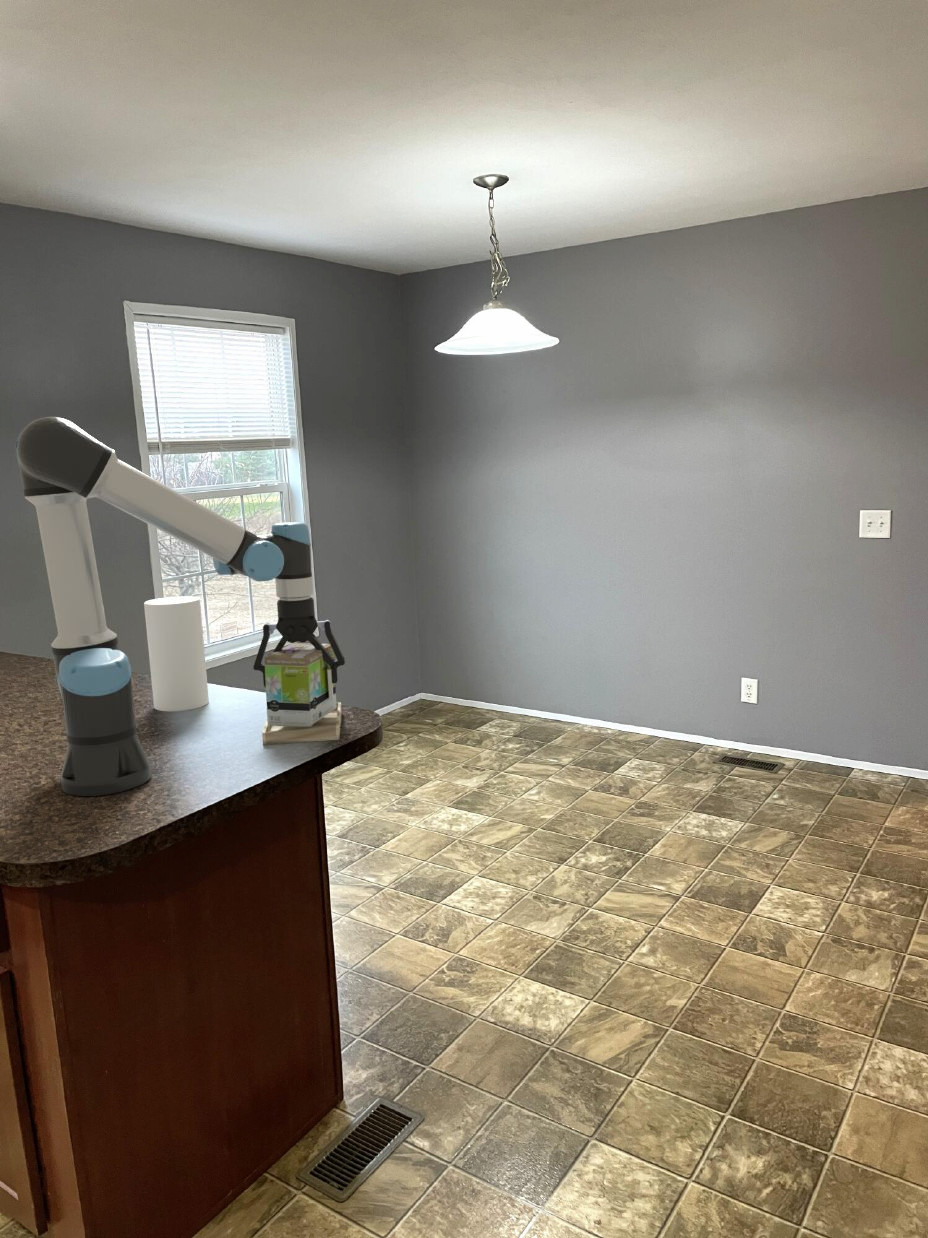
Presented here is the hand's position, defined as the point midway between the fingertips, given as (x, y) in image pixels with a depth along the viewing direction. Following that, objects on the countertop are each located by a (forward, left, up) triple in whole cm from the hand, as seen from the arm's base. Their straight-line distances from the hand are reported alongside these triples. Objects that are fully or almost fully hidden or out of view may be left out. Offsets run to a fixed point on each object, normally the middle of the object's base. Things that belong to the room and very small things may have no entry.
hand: (302, 700), depth 196 cm
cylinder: (+28, +30, -6) cm, 41 cm away
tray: (0, 0, -6) cm, 6 cm away
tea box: (0, 0, -4) cm, 4 cm away
